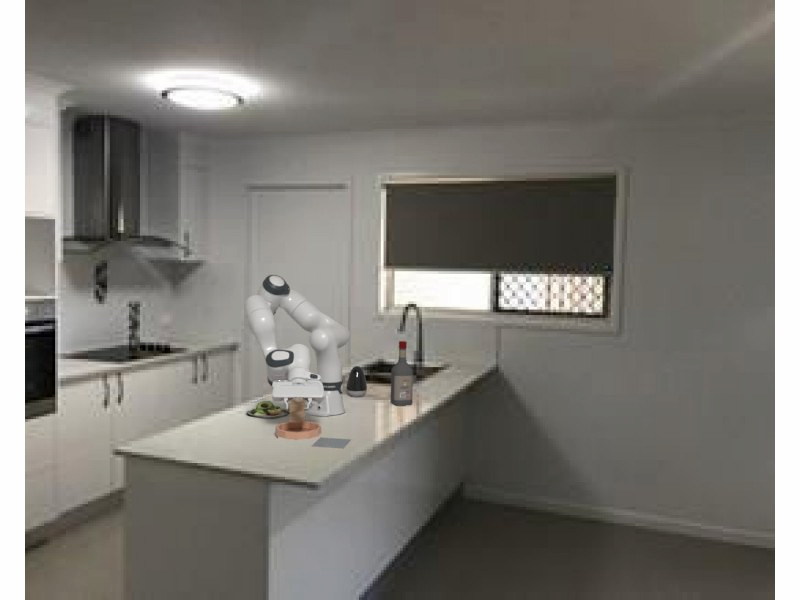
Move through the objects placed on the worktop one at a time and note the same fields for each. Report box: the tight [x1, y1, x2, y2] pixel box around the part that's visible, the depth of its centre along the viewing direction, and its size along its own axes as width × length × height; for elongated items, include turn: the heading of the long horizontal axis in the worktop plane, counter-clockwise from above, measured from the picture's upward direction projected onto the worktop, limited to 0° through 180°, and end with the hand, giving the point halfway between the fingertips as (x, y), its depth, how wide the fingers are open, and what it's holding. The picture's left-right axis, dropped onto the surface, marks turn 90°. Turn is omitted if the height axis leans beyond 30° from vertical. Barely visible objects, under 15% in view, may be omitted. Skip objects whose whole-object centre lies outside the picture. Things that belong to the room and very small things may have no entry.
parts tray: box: [311, 437, 352, 449], centre depth 243 cm, size 12×12×1 cm
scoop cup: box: [289, 397, 306, 422], centre depth 255 cm, size 6×6×9 cm
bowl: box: [274, 420, 322, 440], centre depth 255 cm, size 17×17×4 cm
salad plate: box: [245, 400, 290, 420], centre depth 289 cm, size 19×18×5 cm
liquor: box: [390, 340, 414, 407], centre depth 314 cm, size 9×9×30 cm
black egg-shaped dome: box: [346, 365, 368, 398], centre depth 330 cm, size 10×10×15 cm
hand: (297, 409), depth 254 cm, fingers closed on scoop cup, 6 cm apart
